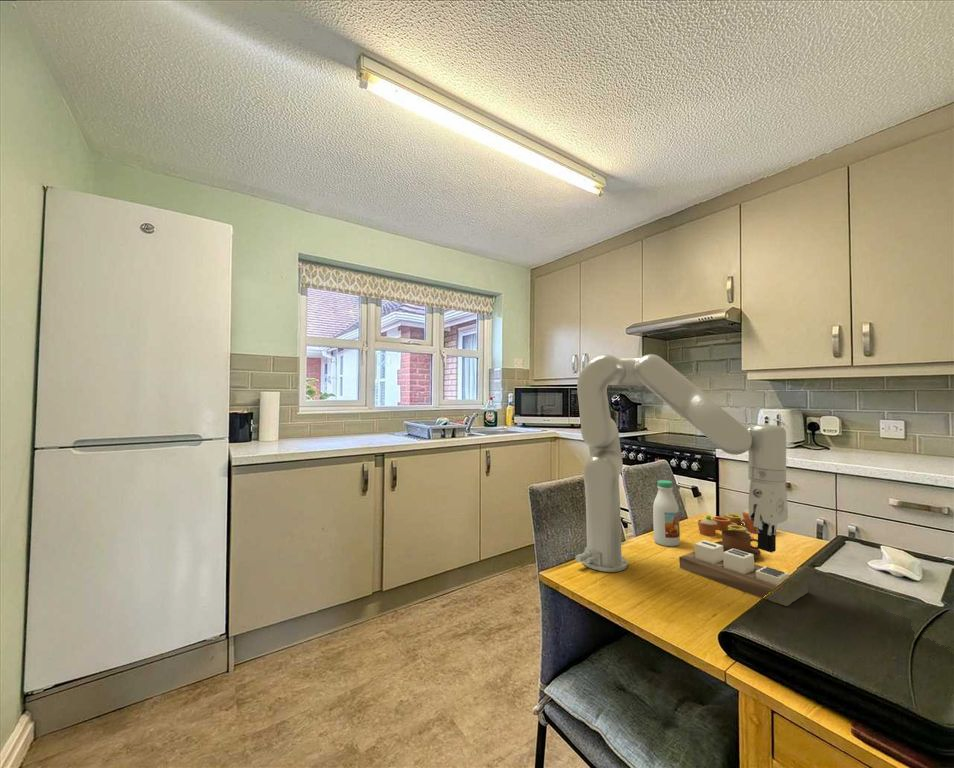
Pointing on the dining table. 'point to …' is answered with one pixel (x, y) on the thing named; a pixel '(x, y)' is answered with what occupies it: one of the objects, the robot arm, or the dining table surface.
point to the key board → (727, 575)
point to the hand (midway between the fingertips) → (766, 549)
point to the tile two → (738, 561)
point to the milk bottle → (666, 515)
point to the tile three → (771, 575)
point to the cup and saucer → (738, 542)
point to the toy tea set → (726, 524)
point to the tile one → (709, 552)
